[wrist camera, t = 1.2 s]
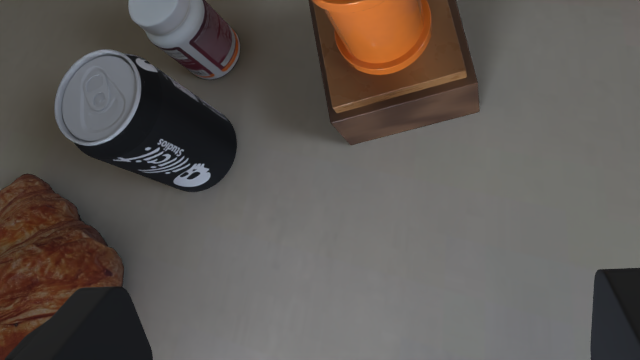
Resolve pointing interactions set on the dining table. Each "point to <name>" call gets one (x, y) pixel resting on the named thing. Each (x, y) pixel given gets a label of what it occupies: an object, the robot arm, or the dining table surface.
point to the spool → (379, 32)
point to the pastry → (45, 258)
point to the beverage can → (143, 121)
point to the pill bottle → (189, 34)
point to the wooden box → (399, 81)
